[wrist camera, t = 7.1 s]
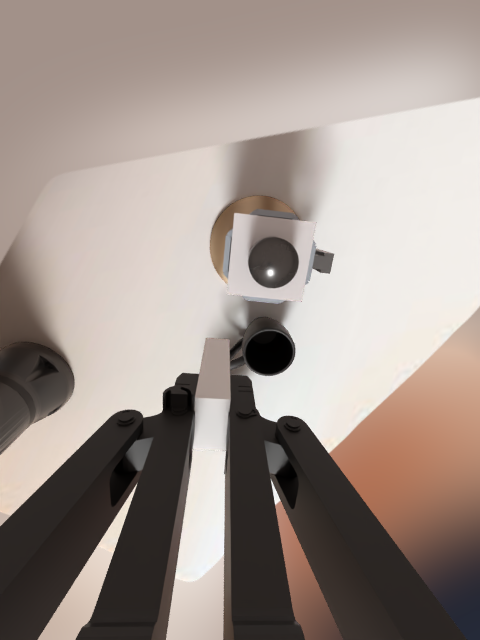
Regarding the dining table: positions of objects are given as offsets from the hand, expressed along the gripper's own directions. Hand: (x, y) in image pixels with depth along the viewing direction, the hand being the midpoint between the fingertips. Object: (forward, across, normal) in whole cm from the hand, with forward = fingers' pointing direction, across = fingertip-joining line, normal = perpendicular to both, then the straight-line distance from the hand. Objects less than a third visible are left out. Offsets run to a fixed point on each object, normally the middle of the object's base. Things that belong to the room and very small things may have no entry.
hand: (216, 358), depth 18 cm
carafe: (+31, +7, +5) cm, 33 cm away
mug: (+32, +6, -11) cm, 35 cm away
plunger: (+24, +5, +5) cm, 25 cm away
